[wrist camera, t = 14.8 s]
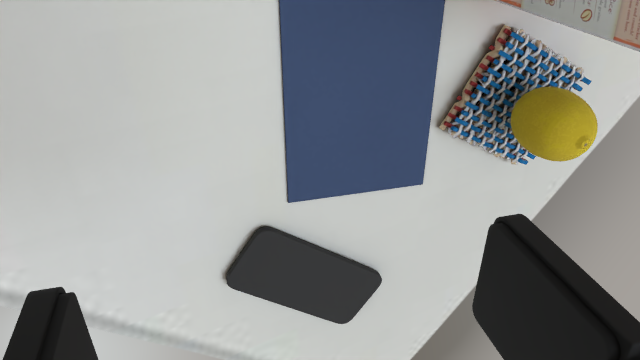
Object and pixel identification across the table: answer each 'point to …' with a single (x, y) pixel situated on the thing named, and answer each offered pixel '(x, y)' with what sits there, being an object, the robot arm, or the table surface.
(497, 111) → the woven mat
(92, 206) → the table surface
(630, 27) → the cracker box
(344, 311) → the phone
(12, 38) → the table surface
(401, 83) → the cloth
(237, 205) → the table surface
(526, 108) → the lemon
